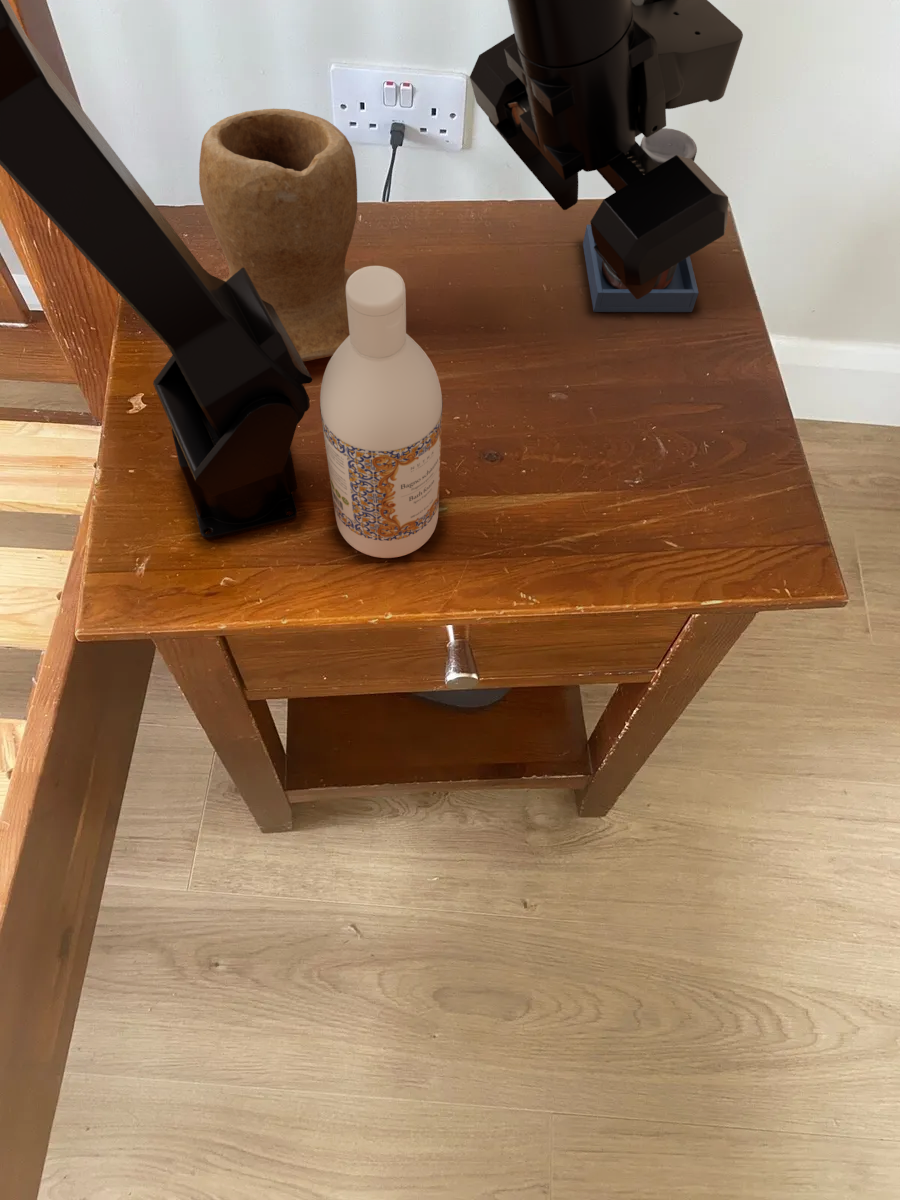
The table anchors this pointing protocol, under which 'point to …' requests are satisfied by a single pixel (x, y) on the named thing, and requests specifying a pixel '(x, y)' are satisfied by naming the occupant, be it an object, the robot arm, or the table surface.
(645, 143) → the supplement bottle
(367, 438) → the bath foam
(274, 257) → the stone cup
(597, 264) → the tray
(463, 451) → the table surface
